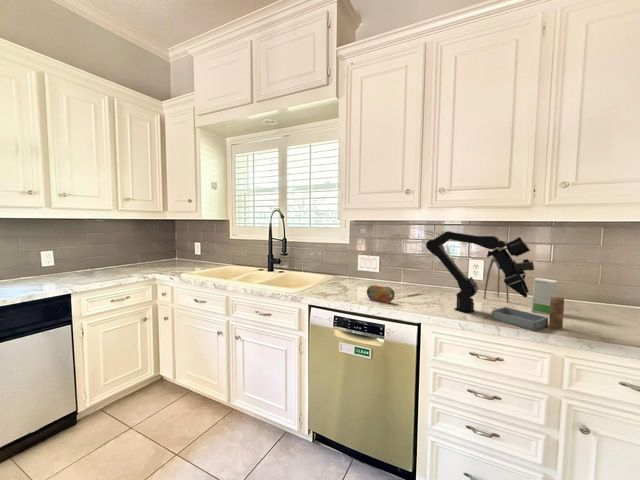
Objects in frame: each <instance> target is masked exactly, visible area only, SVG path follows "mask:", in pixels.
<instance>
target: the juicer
mask: <svg viewBox="0 0 640 480" xmlns="http://www.w3.org/2000/svg"><path fill="white" fill-rule="evenodd" d="M504 248H505V247H503V248H498V247H497V248H495V249H493V251H494V250H496V249H499V250H502V249H504ZM494 263H495V264H496V267H497V290H496V291H497V293H496V294H497V295H496V296H497V298H499V295H500V277H501V276H500V274H501V273H500V270H501V269H500V268H499V265H498V264H497V262H496V261H495V259H494V258H493V257H492V258H491V260H490V263H489V266H488V271H487V274H486V280H485V285H484V292H483V293H484V294H483V299H484V300H485V299H486V297H487V290H488V289H487V288H488V284H489V280H490V279H489V278H490V274H491V271H492V267H493V264H494ZM505 289H506V290H505V291H506V292H505V293H506V303H509V286H508V285H506V284H505Z"/></svg>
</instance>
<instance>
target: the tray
mask: <svg viewBox="0 0 640 480" xmlns="http://www.w3.org/2000/svg"><path fill="white" fill-rule="evenodd" d="M490 315H491V316H490V317H491V320H495V321H497V322H502V323H505V324H508V325H512V326H515V327H519V328H521V329H525V330H529V331H532V332H537V331H539V330H541V329H544V328H547V327H549V316H548V317H547V316H544V315H540V314H535V313H531V312H527V311H524V310H520V309H517V308H511V307H508V306H504V307H503V306H502V307H500V308H496V309H493V310H491V314H490Z"/></svg>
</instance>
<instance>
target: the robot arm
mask: <svg viewBox="0 0 640 480" xmlns="http://www.w3.org/2000/svg"><path fill="white" fill-rule="evenodd" d="M449 241H457V242H461V243H462V242H463V243H469V244H475V245H477V246H479V247H481V248H482V247H483V248H485V249H488V251H487V255H486V257H487V258H490V257H492V258H493V259H495V261H496V262H497V264H498V265H499V268H500V270H501V272H502V273H503V274H504V280H503V282H504V284H505V286H506V285H508V288H510V289H512V290H514V292H516V293H518V294H519V295H521V296H522V297H524V298H527V297H528V294H527V293H529V288H528V286H527V284H526V280H525V277H526V275H527V274H526V271H534V270H535V264H534V261H530V260H529V259H523V260H522V262H521V261H520V262H516V260H513V258H512V257H511V256H515V257H519V256H522V255H523V254H527V253H528V252H530V251H531V249H530V247H529V246H528V244H527V243H526V242H525V241H524V240H523V239H522V237H521V236H519V237H517V238H515V239H514V240H512V241H509V242H506V241H503V240H501V239H500V238H499V236H496V235H474V234H468V233H467V234H466V233H461V232H454V231H449V230H448V231H445V232H444V233H442V234H440V235H439V236H437V237H435V238H434V239H429V240H428V241H427V242H426V244H425V247H426V249H427V250H428V251H429V252H430V253H431V254H433V256H435V257H437V259H439V260H440V262H441V263H442V264H443V266H445V268H446V270H447V271H448V272H449V274H451V275H452V277H453V278H454V279H455V280H456V282H457V285H458V287H459V289H460V291H459V292H458V293H456V294H455V296H456V308H454V310H456V311H459V312H462V313H465V314H469V313H470V314H471V313H474V312H475V303H474V298H472V297H474V295H476V294H477V293H478V290H479V286H478V283H477V282H475V280H474V278H473V277H471V276H470V277H468V276H466V275H465V274H464V272H462V271H461V269H460V268H459V267H458V266H457V264H456V263H455V262H454V261H453V260H452V259H451V257H450V256H449V254H448V253H447V252H446V250H445V246H444V244H446V243H447V242H449ZM497 247H498V248H503V247H504V249H502V250H499V249H496V250H494V249H495V248H497ZM492 250H493V251H492Z"/></svg>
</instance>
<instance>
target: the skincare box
mask: <svg viewBox="0 0 640 480" xmlns="http://www.w3.org/2000/svg"><path fill="white" fill-rule="evenodd" d="M532 290H533V291H532V302H531V312H533V313H538V314H543V315H548V316H550V300H551V297H557V293H558V280H555V279H549V278H540V277H536V278H534V280H533V289H532Z"/></svg>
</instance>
